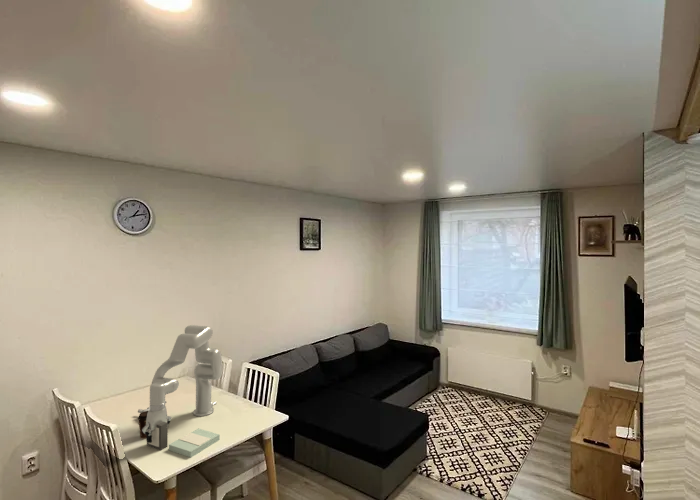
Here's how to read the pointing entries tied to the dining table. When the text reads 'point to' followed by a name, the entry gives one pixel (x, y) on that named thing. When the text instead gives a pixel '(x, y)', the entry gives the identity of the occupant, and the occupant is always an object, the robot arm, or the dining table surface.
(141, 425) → the coffee cup
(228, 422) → the dining table surface
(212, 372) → the robot arm
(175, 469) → the dining table surface
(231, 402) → the dining table surface
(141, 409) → the bunny figurine
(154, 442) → the picture frame
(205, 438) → the sage stand
